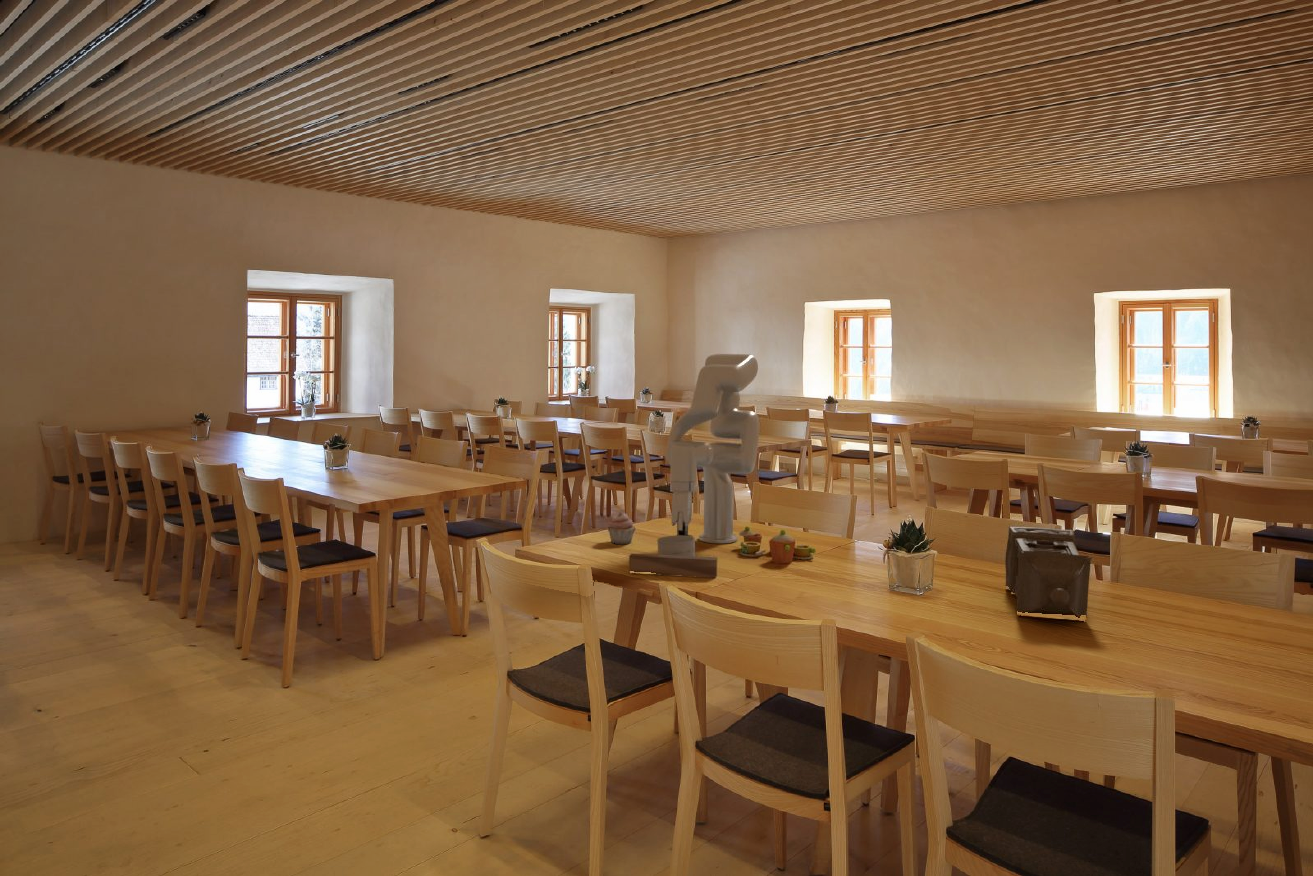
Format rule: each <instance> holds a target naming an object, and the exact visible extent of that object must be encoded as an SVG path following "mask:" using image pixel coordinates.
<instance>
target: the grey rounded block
mask: <svg viewBox="0 0 1313 876" xmlns="http://www.w3.org/2000/svg"><path fill="white" fill-rule="evenodd" d="M656 541H657V552H658V554H657V555H676V556H696V555H695V554H696V543H695V541H696V538H695V537H694V536H693V535H690V534H688V535H687V536H683V535H677V534H675V535H666V536H661V537H659V538H657V540H656Z"/></svg>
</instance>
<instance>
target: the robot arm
mask: <svg viewBox="0 0 1313 876" xmlns="http://www.w3.org/2000/svg"><path fill="white" fill-rule="evenodd" d="M758 369H759V364H758V360H757V359H756V357H755V356H754V355H752V354H746V353H745V354H744V353H736V354H735V353H716V354H715V353H714V354H712V355H709V356H708V357H706V359H705V362H704V366H702V367H701V368H700V370H699V372H698V375H697V380H696V384H695V388H694V392H693V395H692V401H691V404H690V408H688V409H687V410H686V411H685V412H684V413H682V415H681V416H680V417H679V418H678V419H677V420H676V421H675V422H674V424H673V426H672V427H671V428H670V429H671V430H670V431H669V435H668V439H667V443H666V448H665V449H666V450H665V458H666V460H667V462H668V463H669V464H670V474H669V475H670V479H669V481H670V484H669V485H670V488H669V489H670V490H669V492H670V493H673V494H672V502H671V503H672V504H671V505H672V506H671V524H670V525H671V526H672V527H673V526H674V527H675V526H676V529H677V530H676V535H683V536H687V535H689V525H690V523H691V522H692V518H693V517H692V516H693V515H692V514H693V493H695V492H697V467H698V468H702V470H703V486H704V487H703V490H704V491H703V533H700V534H698V540H699V541H701V542H705V543H709V544H731V543H735V542H737V541H738V539H739V536H738V535H737V534H734V494H735V489H734V483H733V481H732V479H731V477H730V476H729V474H739V475H741V474H743V475H746V474H747V475H748V474H751V473H752V472H753V471H754V469H755V467H756V463H757V456H758V449H759V448H758V447H759V438H760V430H761V429H760V428H761V424H760V419H759V416H758V414H757V413H756V412H754V411H752V410H740V401H741V395H740V392H742V391H744V389H746V387H748V385H750V384H751V383H752V382H753V381H754V379H756V376H757V374H758ZM709 421H710V424H709V425H710V426H709V427H710V429H709V430H710V433H711V436H713V438H716V439H720V440H721V439H722V440H734V441H735V440H738V441H741V442H740V443H736V442H733V443H732V442H718V441H717V442H714V441H713V442H710V443H708V442H705V441H694V440H683V438H684V437H685V435H686V433H688V431H689V432H690V430H691V429H693V428H695V427H696V426H700V425H702V424H703V423H706V422H709Z"/></svg>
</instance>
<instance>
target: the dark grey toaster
mask: <svg viewBox="0 0 1313 876" xmlns="http://www.w3.org/2000/svg"><path fill="white" fill-rule="evenodd" d="M1006 543H1007V544H1006V549H1005V550H1006V551H1005V559H1004V560H1005V563H1004V564H1005V565H1004V566H1005V586H1008V587H1009V589H1010V590H1009V592H1010V591H1011V592H1013V593H1015V595H1014V596H1016V610H1015V612H1016V611H1018V612H1022V613H1025V612H1028V613H1042V614H1062V615H1075V616H1076V617H1078V618H1080V616H1081V615H1086V616H1087V613H1088V612H1087V611H1088V606H1089V604H1088V603H1089V602H1088V601H1089V599H1088V598H1089V587H1090V585H1089V584H1090V574H1091V561H1092V559H1093V558H1092V557H1091V556H1089V555H1080V553H1079V552H1078V549H1077V542H1076V540H1075V531H1074V530H1073V529H1056V528H1048V527H1047V528H1046V527H1029V526H1008V535H1007V542H1006Z"/></svg>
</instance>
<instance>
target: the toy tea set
mask: <svg viewBox="0 0 1313 876" xmlns="http://www.w3.org/2000/svg"><path fill="white" fill-rule="evenodd" d="M738 535H739V536H741V537H743V541H742V542H740V546H741V551H740V555H742V556H744V557H749V558H758V557H761V556H763V554H764V553H766V549H761V545H762V538H763V535H762V534H760V533H757V532H754V531H752V530H751V528H750V527H749V526H745V527H744V530H742V531H740V532H739V533H738ZM768 544H769V550H770V551H769V552H771V553H770V555H771V561H772V562H773V563H775V564H780V563H787V564H791V563H792V562H793V560H799V559H801V560H802V561H806V560H807V559H808V560H812V559H814V555H813V554H815V553H816V552H817V551H816V548H815V547H812V546H811V545H809V544H803V543H802V544H796V540H795V539H794V538H793V536H791V535H790V534H788V533H786V530H784V529H781V530H780V531H779V533H777V534H775V535H774V536H772V538H770V539H769V540H768ZM757 556H758V557H757ZM801 560H800V561H801ZM808 560H807V561H808Z"/></svg>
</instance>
